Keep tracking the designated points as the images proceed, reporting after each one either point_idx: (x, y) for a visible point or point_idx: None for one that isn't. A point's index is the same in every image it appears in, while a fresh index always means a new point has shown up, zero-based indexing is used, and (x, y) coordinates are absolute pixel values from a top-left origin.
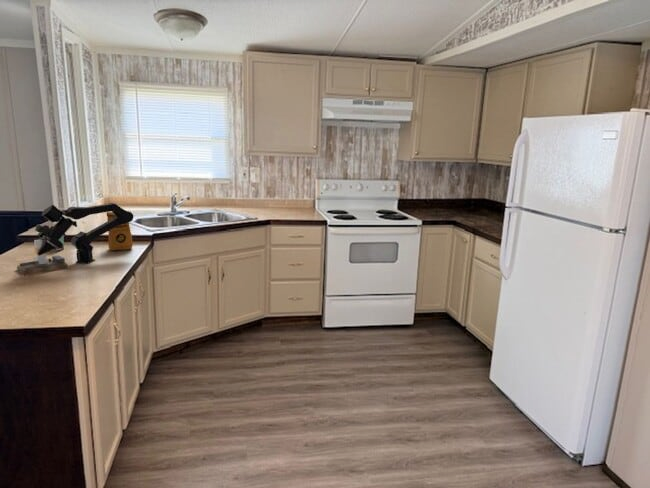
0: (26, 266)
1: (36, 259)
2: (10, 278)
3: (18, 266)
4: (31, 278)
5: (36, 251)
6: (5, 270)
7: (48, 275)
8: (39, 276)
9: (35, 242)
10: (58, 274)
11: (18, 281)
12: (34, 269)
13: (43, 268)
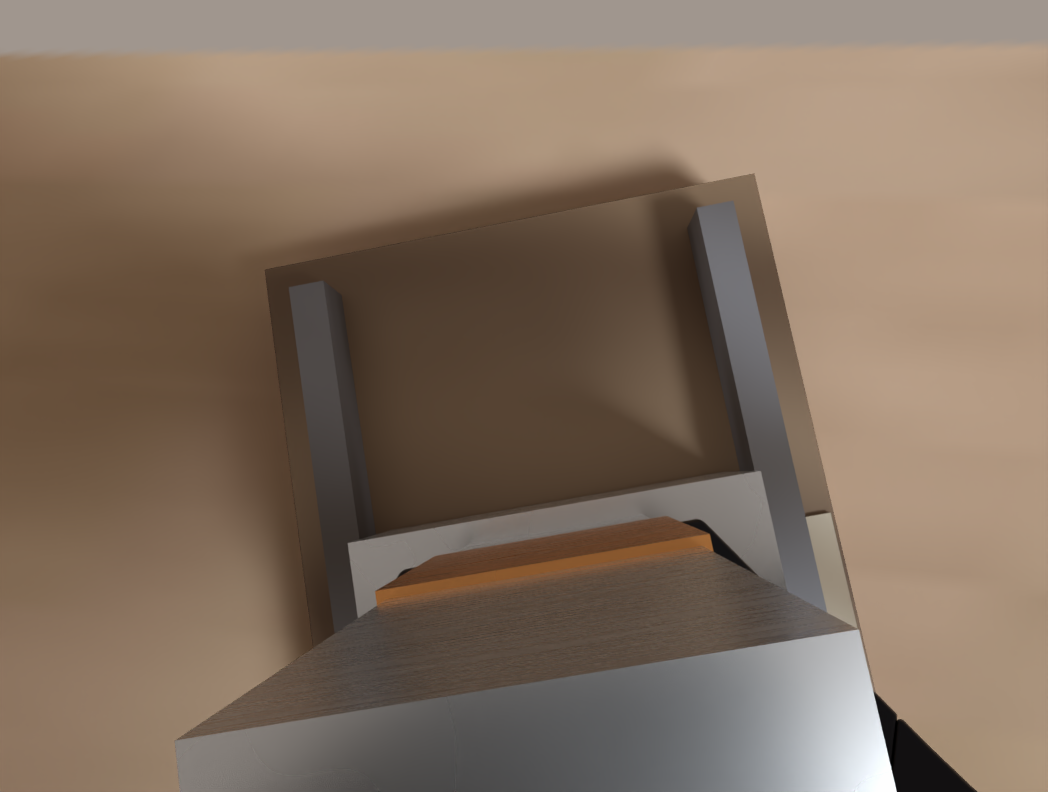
0: (597, 322)
1: (542, 510)
2: (240, 111)
3: (673, 196)
4: (63, 370)
5: (484, 557)
6: (787, 47)
7: (83, 615)
8: (106, 484)
9: (440, 661)
10: (49, 770)
11: (12, 203)
12: (288, 433)
13: (308, 587)
